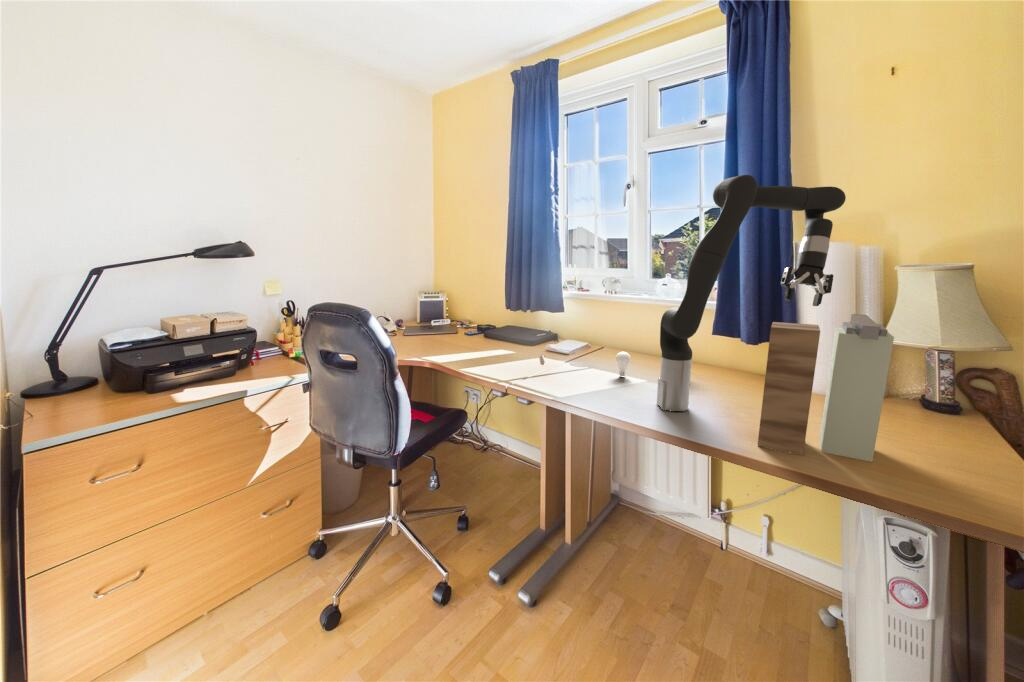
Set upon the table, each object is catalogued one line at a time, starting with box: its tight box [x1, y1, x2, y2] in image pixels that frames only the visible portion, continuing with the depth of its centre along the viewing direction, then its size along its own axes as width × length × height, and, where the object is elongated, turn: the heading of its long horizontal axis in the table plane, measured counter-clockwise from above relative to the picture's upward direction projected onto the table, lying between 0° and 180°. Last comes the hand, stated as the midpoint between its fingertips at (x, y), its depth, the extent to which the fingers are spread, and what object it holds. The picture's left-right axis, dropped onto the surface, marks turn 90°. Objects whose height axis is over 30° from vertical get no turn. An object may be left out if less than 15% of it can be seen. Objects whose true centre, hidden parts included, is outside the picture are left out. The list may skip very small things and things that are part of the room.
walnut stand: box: [757, 321, 821, 456], centre depth 109 cm, size 10×10×32 cm
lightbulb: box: [614, 351, 632, 377], centre depth 173 cm, size 6×6×11 cm
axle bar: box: [849, 313, 880, 340], centre depth 102 cm, size 22×3×3 cm, turn 146°
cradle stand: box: [819, 321, 895, 463], centre depth 105 cm, size 10×10×32 cm
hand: (801, 303), depth 132 cm, fingers open, 8 cm apart
